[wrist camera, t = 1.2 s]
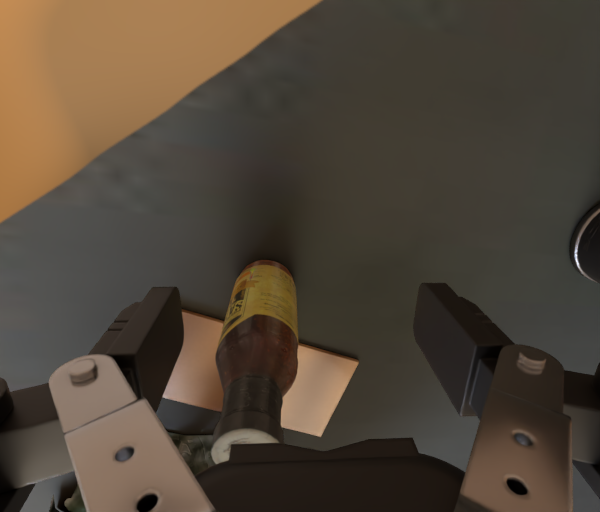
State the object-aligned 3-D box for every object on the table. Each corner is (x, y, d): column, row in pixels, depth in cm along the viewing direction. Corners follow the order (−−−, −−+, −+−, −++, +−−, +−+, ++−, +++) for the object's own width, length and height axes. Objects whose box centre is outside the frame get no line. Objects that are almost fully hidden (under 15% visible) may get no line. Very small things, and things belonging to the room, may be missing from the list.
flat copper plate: (358, 359, 42) (359, 362, 42) (320, 433, 46) (320, 437, 46) (149, 299, 38) (148, 301, 38) (128, 385, 43) (126, 388, 42)
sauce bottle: (239, 253, 37) (191, 396, 18) (300, 261, 37) (313, 408, 19) (233, 309, 39) (185, 486, 21) (290, 316, 40) (294, 494, 21)
